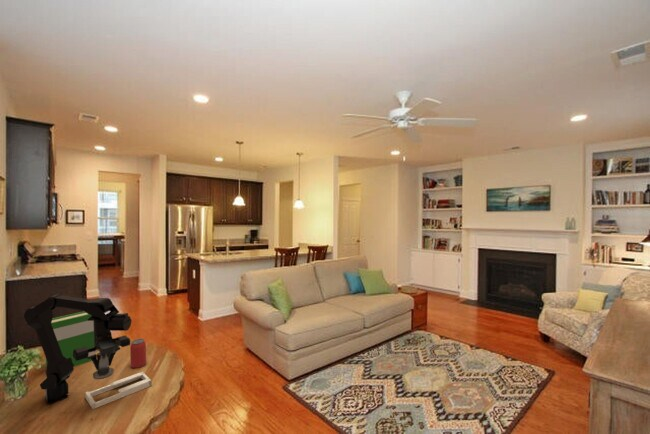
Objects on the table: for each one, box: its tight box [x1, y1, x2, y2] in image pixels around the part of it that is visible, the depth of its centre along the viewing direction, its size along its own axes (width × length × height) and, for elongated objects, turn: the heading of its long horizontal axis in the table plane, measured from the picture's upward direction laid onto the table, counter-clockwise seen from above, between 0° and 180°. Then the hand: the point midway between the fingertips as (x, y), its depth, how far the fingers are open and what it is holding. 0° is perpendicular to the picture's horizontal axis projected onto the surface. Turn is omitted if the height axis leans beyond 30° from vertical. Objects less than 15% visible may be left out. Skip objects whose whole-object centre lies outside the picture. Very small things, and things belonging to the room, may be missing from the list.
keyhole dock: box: [85, 371, 152, 410], centre depth 136 cm, size 22×11×2 cm, turn 138°
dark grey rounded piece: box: [92, 351, 115, 380], centre depth 131 cm, size 7×7×9 cm
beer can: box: [129, 338, 147, 369], centre depth 158 cm, size 7×7×12 cm
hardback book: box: [45, 311, 94, 368], centre depth 158 cm, size 18×7×24 cm, turn 142°
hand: (103, 367), depth 131 cm, fingers closed on dark grey rounded piece, 4 cm apart
